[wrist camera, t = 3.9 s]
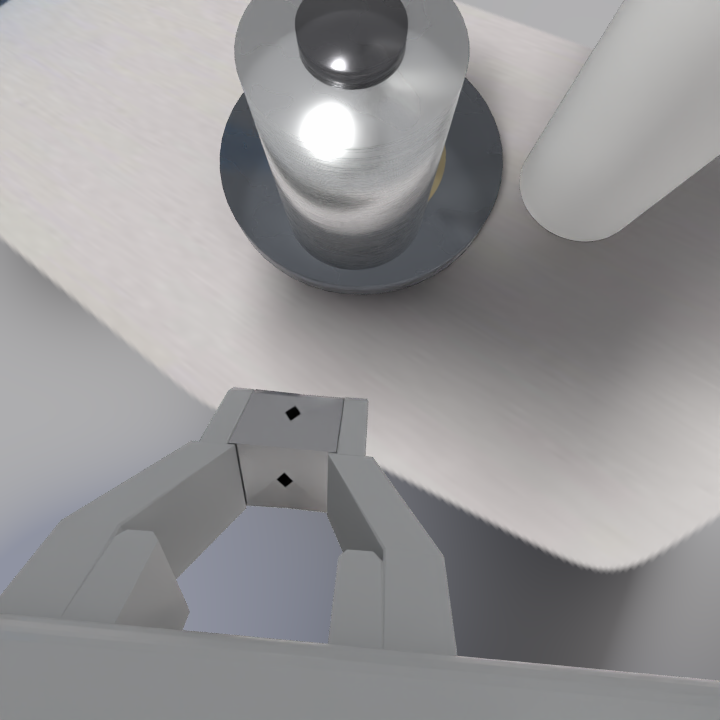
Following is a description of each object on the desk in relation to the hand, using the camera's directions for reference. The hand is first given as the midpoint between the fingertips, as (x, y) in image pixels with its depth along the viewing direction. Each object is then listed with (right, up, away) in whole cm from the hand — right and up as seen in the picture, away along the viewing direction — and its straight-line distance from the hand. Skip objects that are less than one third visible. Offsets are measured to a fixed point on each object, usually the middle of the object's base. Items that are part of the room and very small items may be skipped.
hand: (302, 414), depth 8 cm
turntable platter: (+1, +12, +12) cm, 17 cm away
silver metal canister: (+1, +9, +10) cm, 14 cm away
